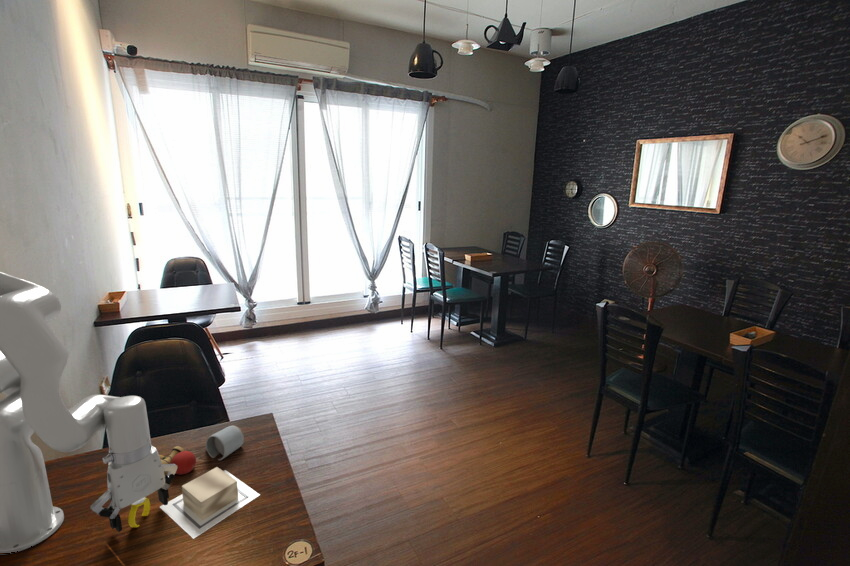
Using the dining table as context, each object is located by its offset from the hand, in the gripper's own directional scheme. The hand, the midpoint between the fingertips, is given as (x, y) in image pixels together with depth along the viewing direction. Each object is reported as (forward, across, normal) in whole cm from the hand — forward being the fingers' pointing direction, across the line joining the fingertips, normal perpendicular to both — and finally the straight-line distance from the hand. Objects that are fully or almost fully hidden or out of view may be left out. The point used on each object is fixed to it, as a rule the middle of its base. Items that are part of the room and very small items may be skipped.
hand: (141, 514), depth 97 cm
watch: (+2, 0, 0) cm, 2 cm away
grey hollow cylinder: (+2, +26, +10) cm, 27 cm away
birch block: (+2, +13, -7) cm, 14 cm away
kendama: (+2, +12, +16) cm, 20 cm away
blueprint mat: (+2, +13, -7) cm, 15 cm away
